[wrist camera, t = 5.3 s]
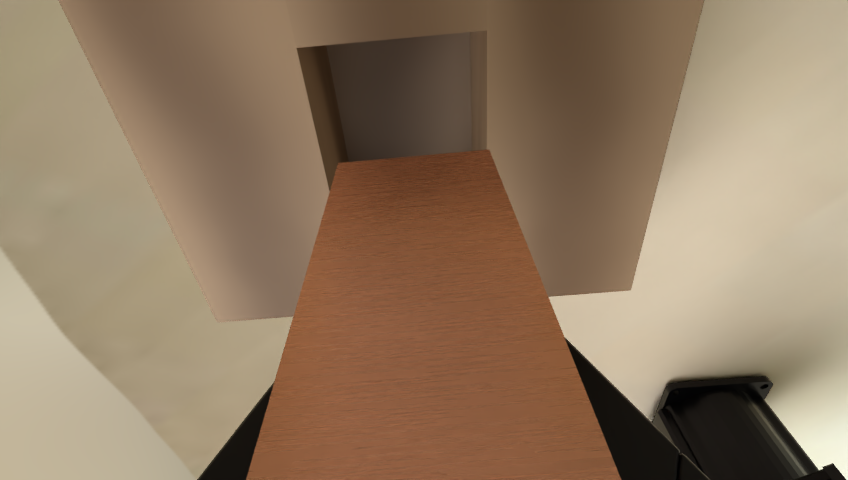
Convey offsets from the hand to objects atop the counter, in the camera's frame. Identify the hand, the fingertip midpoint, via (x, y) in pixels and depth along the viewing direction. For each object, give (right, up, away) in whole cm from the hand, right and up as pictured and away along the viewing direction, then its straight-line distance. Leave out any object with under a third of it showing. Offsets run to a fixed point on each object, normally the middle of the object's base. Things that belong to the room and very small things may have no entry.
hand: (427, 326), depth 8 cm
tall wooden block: (0, +1, +2) cm, 2 cm away
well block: (-1, +7, +9) cm, 11 cm away
